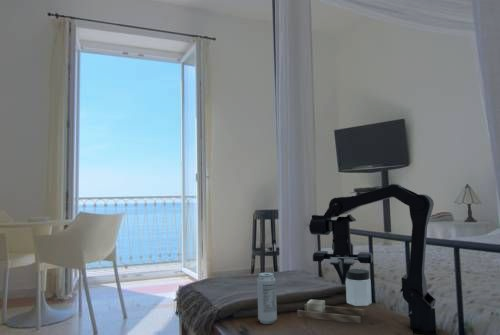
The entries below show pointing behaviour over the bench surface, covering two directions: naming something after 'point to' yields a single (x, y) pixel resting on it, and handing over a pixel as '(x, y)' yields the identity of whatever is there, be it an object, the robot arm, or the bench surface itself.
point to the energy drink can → (266, 298)
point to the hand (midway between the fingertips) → (343, 283)
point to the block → (316, 305)
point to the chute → (333, 316)
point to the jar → (358, 287)
